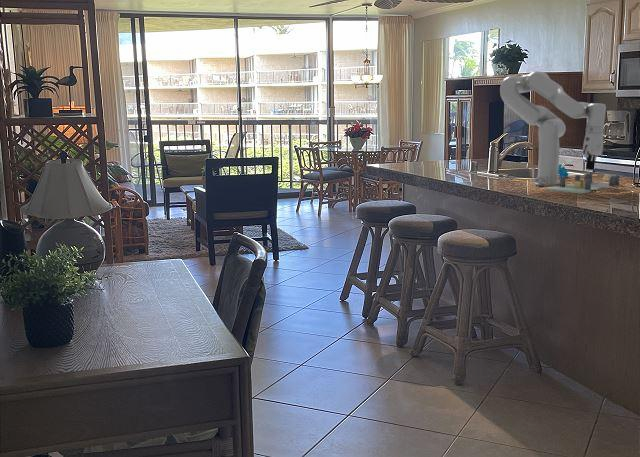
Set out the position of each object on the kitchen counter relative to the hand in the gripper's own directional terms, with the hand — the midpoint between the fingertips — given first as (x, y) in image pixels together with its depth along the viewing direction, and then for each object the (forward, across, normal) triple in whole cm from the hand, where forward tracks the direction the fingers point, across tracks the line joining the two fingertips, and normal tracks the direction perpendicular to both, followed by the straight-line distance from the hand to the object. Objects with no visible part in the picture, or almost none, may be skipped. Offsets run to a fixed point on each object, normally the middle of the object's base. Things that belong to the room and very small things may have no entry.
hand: (589, 169), depth 321 cm
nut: (+8, -9, -2) cm, 12 cm away
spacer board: (+9, -4, -1) cm, 10 cm away
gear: (+10, +25, +31) cm, 41 cm away
